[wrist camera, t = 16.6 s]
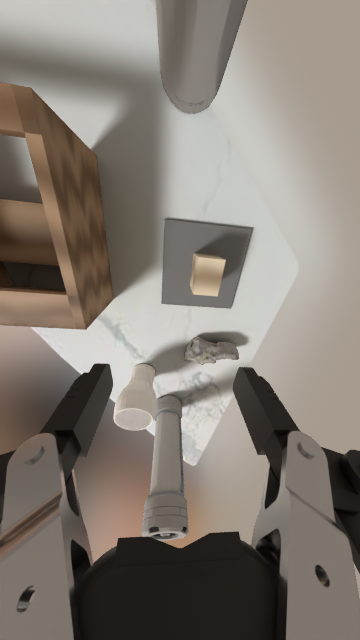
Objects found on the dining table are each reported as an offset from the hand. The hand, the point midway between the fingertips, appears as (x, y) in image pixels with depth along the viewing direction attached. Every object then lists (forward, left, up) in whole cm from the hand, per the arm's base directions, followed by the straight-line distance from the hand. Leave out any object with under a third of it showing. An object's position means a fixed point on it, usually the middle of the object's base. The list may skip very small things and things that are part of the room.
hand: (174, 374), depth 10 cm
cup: (+33, -7, -30) cm, 45 cm away
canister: (+49, +2, -30) cm, 57 cm away
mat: (-1, +7, -30) cm, 31 cm away
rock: (+21, +12, -31) cm, 39 cm away
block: (-1, +7, -30) cm, 30 cm away
